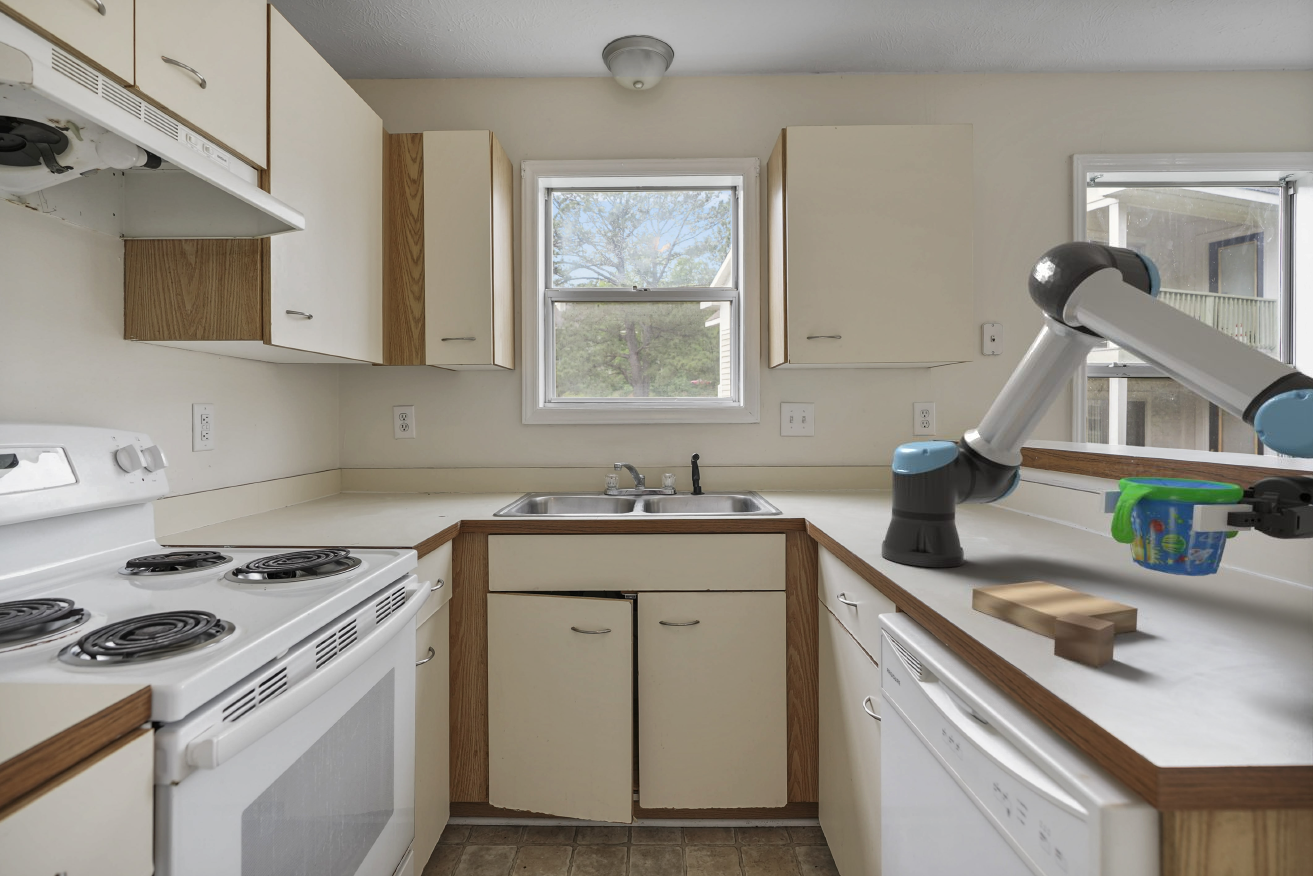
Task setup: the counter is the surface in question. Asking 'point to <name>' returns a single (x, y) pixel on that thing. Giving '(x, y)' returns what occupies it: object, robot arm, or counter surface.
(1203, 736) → the counter surface
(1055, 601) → the oak base slab
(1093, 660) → the walnut block
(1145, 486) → the snack cup
